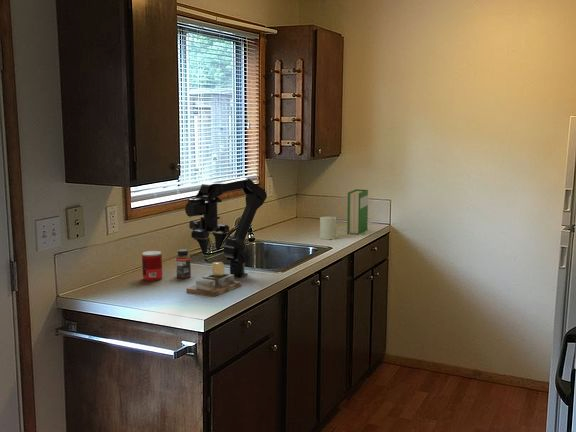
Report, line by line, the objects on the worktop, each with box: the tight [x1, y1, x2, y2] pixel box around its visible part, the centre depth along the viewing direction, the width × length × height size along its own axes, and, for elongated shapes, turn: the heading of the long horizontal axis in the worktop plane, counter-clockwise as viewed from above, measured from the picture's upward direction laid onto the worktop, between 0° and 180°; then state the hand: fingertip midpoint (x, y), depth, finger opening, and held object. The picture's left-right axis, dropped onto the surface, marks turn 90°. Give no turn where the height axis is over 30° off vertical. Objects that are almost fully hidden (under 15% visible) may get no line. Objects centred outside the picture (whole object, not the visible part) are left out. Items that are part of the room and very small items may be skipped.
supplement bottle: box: [175, 248, 192, 279], centre depth 264 cm, size 6×6×11 cm
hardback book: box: [346, 188, 369, 235], centre depth 367 cm, size 18×7×24 cm, turn 159°
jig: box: [185, 272, 242, 298], centre depth 245 cm, size 18×13×4 cm
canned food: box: [141, 250, 163, 282], centre depth 261 cm, size 8×8×11 cm
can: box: [319, 215, 337, 240], centre depth 349 cm, size 9×9×12 cm
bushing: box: [211, 261, 225, 278], centre depth 248 cm, size 4×4×8 cm
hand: (211, 252), depth 255 cm, fingers open, 9 cm apart
